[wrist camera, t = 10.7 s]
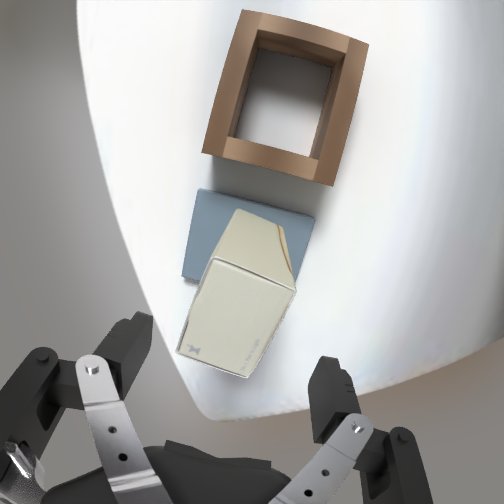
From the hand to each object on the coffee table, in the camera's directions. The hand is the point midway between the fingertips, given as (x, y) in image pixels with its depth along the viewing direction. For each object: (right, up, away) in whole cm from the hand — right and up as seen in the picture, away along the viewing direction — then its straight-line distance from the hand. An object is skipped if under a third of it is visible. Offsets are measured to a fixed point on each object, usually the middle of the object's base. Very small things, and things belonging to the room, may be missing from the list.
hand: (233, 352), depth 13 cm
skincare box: (0, +5, +13) cm, 14 cm away
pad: (0, +5, +13) cm, 14 cm away
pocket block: (+3, +17, +9) cm, 20 cm away
